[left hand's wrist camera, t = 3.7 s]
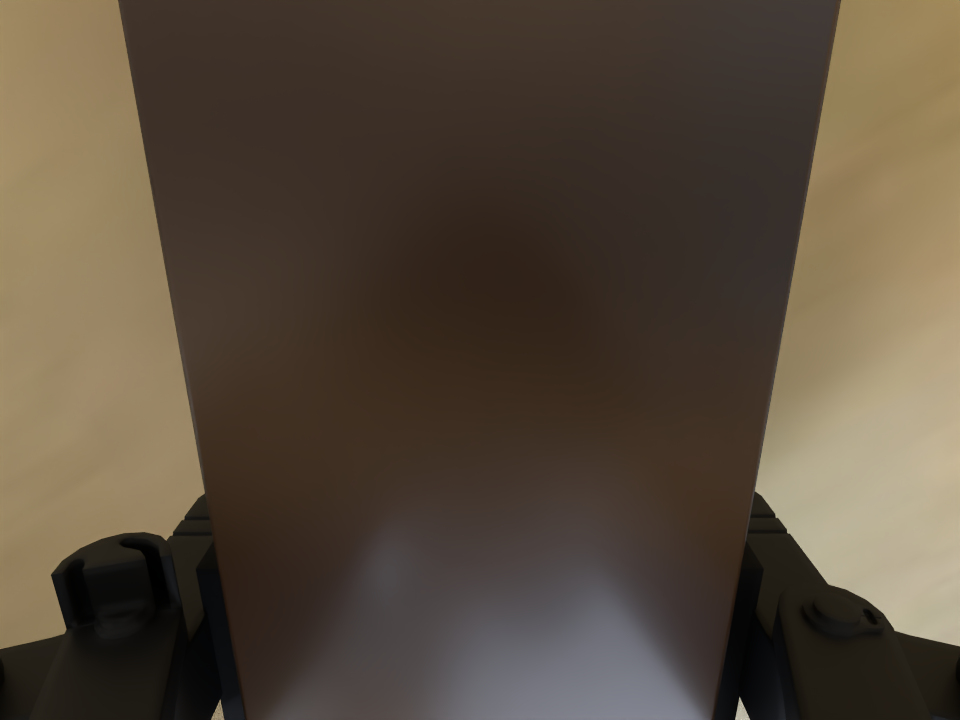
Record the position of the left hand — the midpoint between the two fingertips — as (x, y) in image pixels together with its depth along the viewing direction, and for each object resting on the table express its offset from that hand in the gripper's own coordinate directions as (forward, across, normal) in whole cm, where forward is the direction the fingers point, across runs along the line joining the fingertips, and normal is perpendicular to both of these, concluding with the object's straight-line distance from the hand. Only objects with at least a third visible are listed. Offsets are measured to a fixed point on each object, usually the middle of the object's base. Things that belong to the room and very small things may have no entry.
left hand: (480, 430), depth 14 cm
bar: (+1, 0, -24) cm, 24 cm away
